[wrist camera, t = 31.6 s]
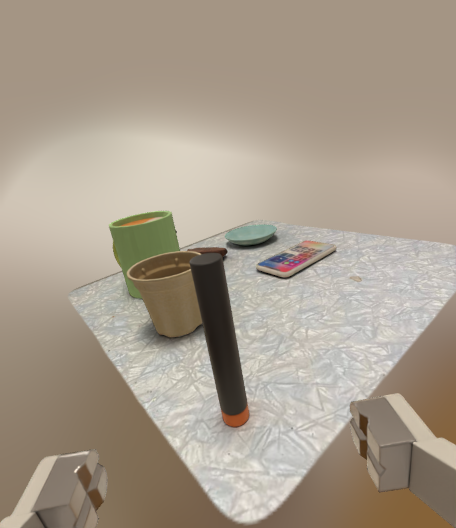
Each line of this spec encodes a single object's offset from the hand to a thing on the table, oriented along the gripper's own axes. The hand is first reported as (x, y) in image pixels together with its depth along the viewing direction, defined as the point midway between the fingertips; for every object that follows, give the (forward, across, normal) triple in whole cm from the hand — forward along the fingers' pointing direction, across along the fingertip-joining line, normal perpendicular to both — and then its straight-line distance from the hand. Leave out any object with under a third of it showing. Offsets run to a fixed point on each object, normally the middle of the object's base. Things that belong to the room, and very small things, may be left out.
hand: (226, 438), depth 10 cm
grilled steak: (+51, +2, +12) cm, 52 cm away
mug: (+43, +12, +12) cm, 46 cm away
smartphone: (+43, -14, +12) cm, 47 cm away
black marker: (+12, 0, +12) cm, 17 cm away
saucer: (+59, -8, +12) cm, 61 cm away
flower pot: (+28, +6, +12) cm, 31 cm away
